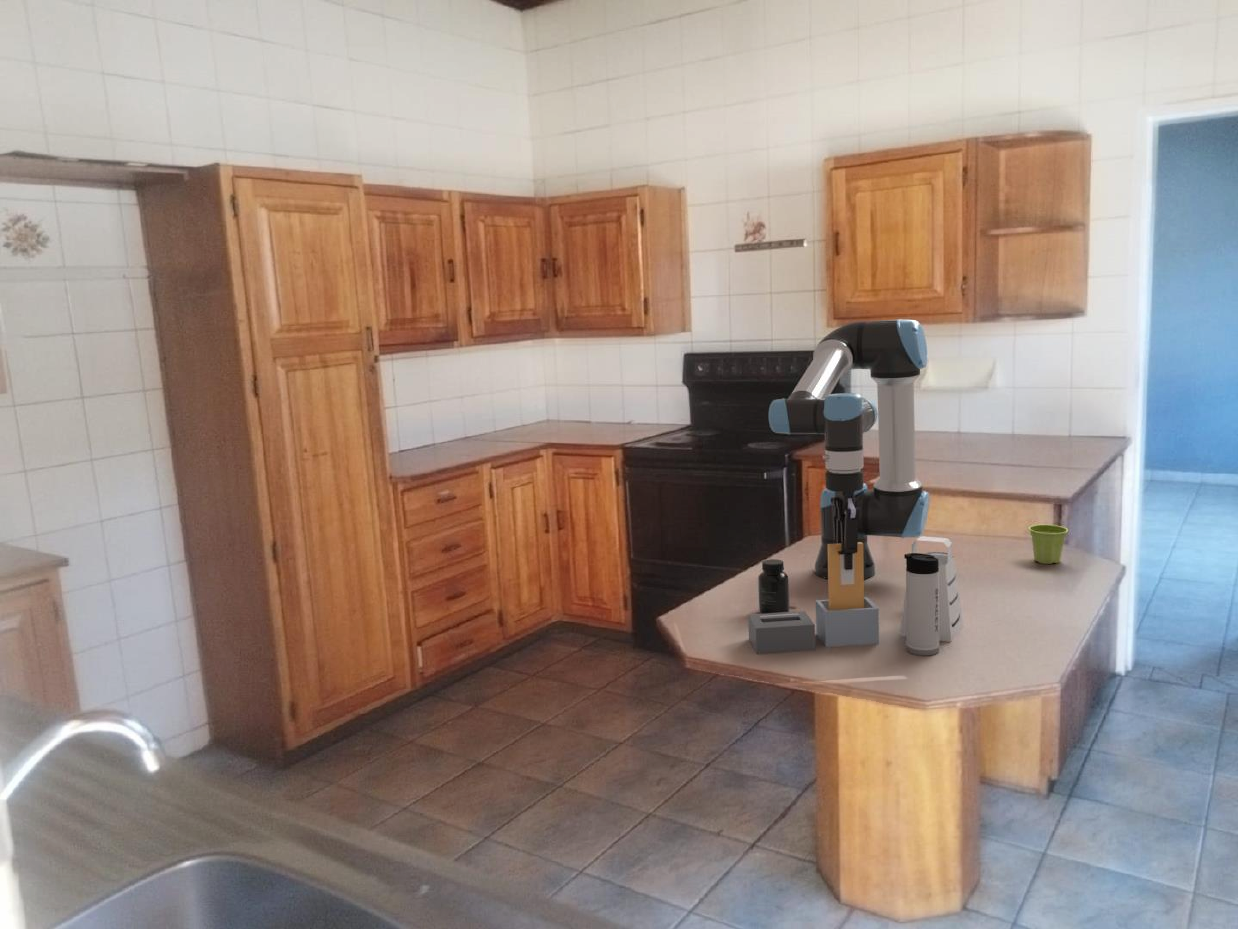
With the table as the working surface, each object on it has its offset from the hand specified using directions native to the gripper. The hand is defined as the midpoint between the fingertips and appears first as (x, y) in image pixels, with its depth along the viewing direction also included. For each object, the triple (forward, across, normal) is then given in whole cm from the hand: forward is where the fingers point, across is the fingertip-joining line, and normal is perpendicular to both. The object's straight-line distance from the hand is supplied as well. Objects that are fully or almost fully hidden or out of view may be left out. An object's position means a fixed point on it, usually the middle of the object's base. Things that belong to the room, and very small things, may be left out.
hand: (845, 582), depth 201 cm
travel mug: (+13, +8, +13) cm, 20 cm away
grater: (+13, -3, +19) cm, 23 cm away
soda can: (+13, -19, +26) cm, 35 cm away
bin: (+13, 0, 0) cm, 13 cm away
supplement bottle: (+13, -22, -11) cm, 28 cm away
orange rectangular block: (+7, 0, 0) cm, 7 cm away
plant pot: (+13, -49, +66) cm, 83 cm away
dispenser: (+13, +1, -14) cm, 19 cm away
